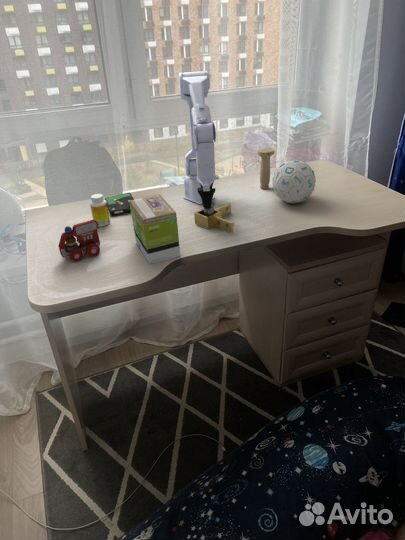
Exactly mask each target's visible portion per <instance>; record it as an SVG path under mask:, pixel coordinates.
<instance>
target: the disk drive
mask: <svg viewBox="0 0 405 540" xmlns="http://www.w3.org/2000/svg"><path fill="white" fill-rule="evenodd" d="M104 200H106V202H107V207H108V213H109V216H110V217H117V216H118V217H119V216H123V215H128V214H131V209H130V202H129V200H135V198H134V197H133V195H132V194H131V192H126V193H121V194H120V193H119V194H115V195H112V196H105V198H104Z"/></svg>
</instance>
